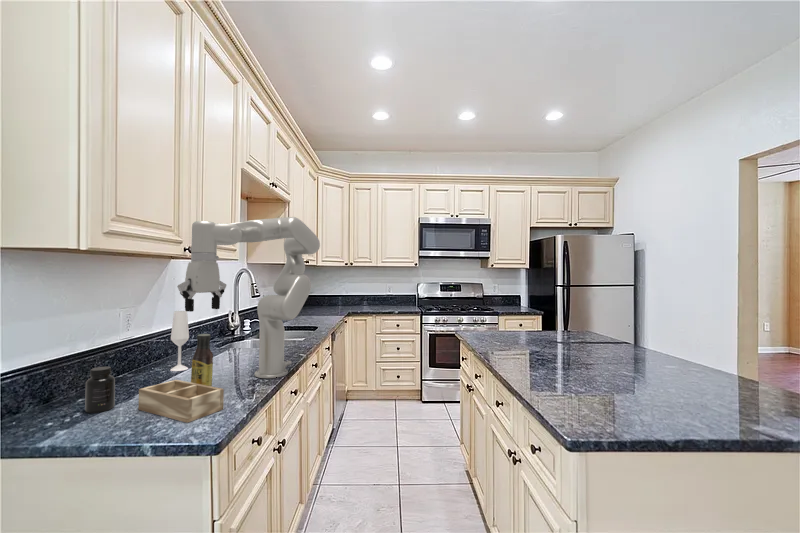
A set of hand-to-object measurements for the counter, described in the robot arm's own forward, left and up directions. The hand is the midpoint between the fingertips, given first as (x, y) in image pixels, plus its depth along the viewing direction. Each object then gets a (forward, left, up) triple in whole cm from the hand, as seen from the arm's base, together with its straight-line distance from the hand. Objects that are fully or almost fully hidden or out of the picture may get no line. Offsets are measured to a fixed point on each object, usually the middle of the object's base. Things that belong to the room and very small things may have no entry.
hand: (202, 310), depth 126 cm
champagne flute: (-19, -38, -28) cm, 51 cm away
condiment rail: (+12, +7, -28) cm, 31 cm away
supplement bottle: (+22, -14, -28) cm, 39 cm away
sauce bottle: (0, 0, -28) cm, 28 cm away
